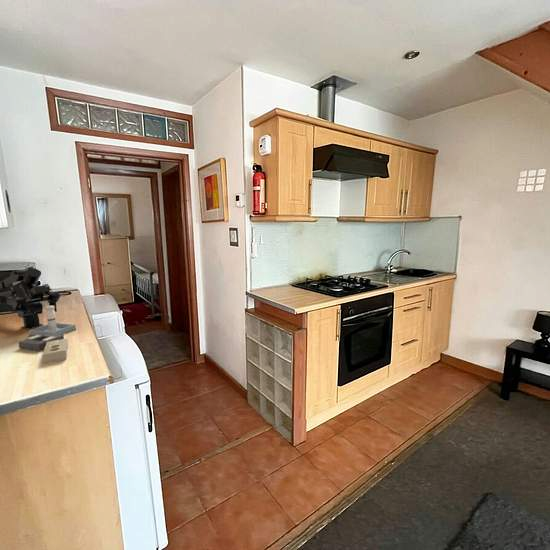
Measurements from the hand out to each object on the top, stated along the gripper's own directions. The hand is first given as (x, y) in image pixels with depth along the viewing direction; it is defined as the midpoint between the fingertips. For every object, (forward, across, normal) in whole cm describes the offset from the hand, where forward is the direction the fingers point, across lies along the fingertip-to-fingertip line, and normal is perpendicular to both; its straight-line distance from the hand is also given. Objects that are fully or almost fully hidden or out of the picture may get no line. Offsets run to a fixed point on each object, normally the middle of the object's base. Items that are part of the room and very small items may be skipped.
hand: (45, 313), depth 146 cm
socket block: (+19, -11, -7) cm, 23 cm away
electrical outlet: (+30, -14, -18) cm, 38 cm away
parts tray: (+10, 0, +3) cm, 10 cm away
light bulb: (+9, 0, +2) cm, 9 cm away
